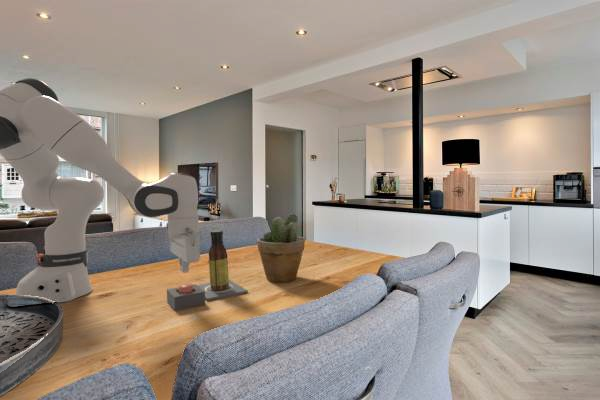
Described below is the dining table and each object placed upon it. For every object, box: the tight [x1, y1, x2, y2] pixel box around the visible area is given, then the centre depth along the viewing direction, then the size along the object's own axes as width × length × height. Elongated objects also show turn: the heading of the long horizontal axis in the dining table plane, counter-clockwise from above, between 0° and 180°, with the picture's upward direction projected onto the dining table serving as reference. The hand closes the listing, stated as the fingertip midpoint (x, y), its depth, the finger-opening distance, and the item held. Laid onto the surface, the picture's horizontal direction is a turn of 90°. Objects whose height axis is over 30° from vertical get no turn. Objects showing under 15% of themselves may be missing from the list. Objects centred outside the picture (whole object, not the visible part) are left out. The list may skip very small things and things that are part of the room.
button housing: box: [166, 284, 206, 311], centre depth 104 cm, size 9×9×4 cm
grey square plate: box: [196, 279, 249, 302], centre depth 117 cm, size 14×16×1 cm
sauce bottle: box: [208, 229, 230, 291], centre depth 116 cm, size 7×6×20 cm
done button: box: [178, 283, 194, 294], centre depth 104 cm, size 4×4×3 cm
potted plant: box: [256, 212, 306, 284], centre depth 130 cm, size 18×19×25 cm
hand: (184, 271), depth 103 cm, fingers closed
